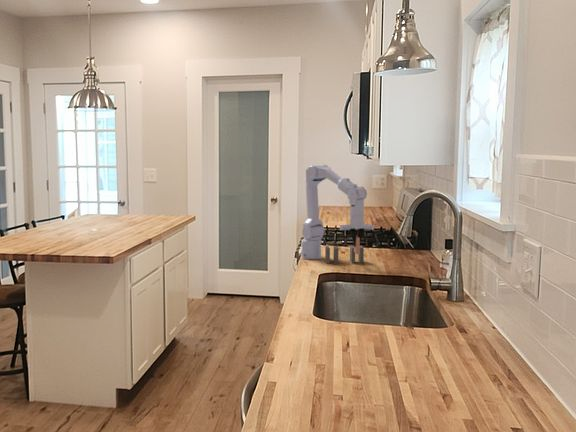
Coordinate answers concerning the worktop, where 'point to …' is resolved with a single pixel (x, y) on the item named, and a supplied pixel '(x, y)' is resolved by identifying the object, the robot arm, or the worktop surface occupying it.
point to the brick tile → (357, 245)
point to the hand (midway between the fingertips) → (356, 246)
